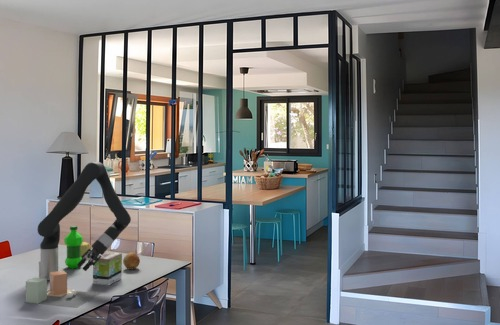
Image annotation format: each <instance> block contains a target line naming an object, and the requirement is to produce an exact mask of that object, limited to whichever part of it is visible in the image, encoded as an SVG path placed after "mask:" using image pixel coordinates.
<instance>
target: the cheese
mask: <svg viewBox="0 0 500 325" xmlns="http://www.w3.org/2000/svg"><path fill="white" fill-rule="evenodd" d="M88 249H90V250H92V245H91V244H90V243H89V242H87V241H83V242H82V244H81V258H82V255H83V254H84V253H85V252H86V251H87V250H88Z"/></svg>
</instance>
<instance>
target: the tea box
mask: <svg viewBox="0 0 500 325" xmlns="http://www.w3.org/2000/svg"><path fill="white" fill-rule="evenodd" d="M99 255H100V256H101V258H100V259H99V260H98V261H97V262H96V264H95V265H92V284H93V285H103V286H110V285H111V284H114V283H116V282H118V281H119V280H121V279H122V275H123V274H122V269H123V268H122V267H123V265H122V264H123V254H122V253H121V252H112V251H111V252H109V251H107V252H106V251H105V253H104V254H103V255H101V254H99Z"/></svg>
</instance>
